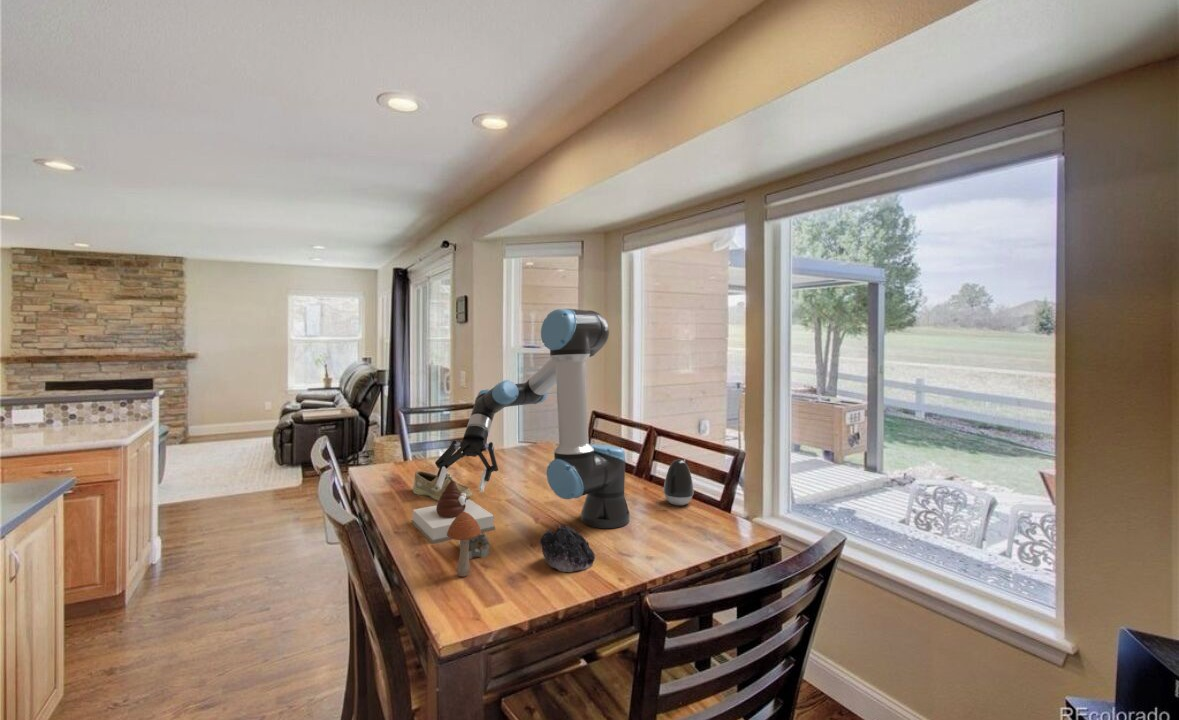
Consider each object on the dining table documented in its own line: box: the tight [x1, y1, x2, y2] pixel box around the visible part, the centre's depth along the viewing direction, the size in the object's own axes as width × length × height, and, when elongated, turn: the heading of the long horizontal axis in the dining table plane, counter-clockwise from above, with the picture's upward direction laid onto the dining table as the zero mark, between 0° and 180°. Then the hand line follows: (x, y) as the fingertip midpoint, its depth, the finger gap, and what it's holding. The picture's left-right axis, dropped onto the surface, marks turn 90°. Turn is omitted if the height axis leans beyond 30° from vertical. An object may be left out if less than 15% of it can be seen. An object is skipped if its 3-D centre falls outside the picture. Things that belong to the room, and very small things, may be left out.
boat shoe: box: [412, 470, 473, 502], centre depth 180 cm, size 25×9×8 cm, turn 61°
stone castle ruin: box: [458, 532, 490, 560], centre depth 135 cm, size 11×8×4 cm
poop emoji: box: [436, 480, 468, 518], centre depth 151 cm, size 10×8×9 cm
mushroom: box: [447, 512, 482, 578], centre depth 121 cm, size 8×8×15 cm
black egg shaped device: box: [663, 458, 694, 506], centre depth 176 cm, size 10×10×15 cm
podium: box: [411, 498, 496, 544], centre depth 152 cm, size 19×19×4 cm
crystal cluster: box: [539, 525, 596, 573], centre depth 129 cm, size 13×14×10 cm
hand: (459, 488), depth 157 cm, fingers open, 13 cm apart
